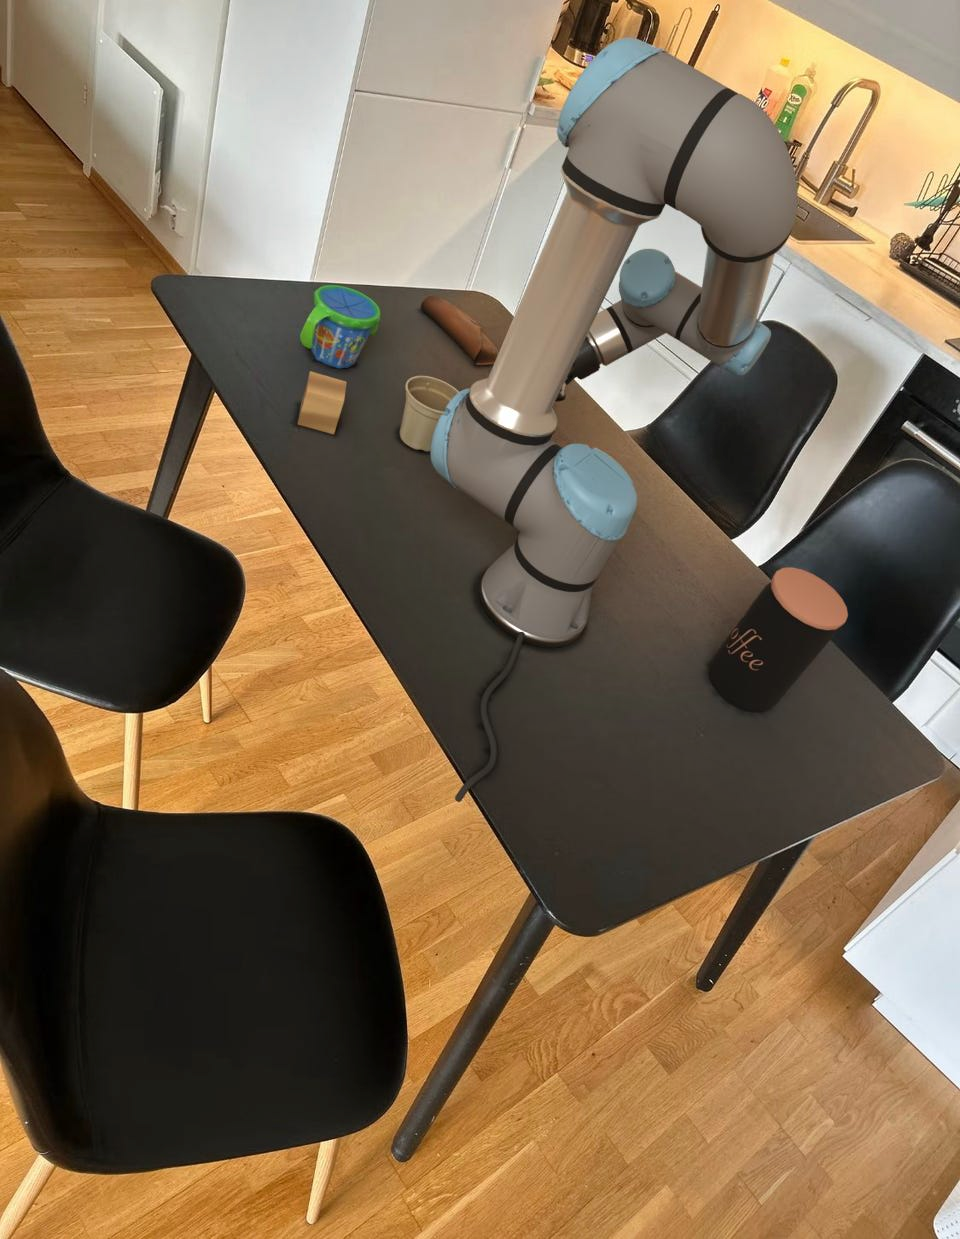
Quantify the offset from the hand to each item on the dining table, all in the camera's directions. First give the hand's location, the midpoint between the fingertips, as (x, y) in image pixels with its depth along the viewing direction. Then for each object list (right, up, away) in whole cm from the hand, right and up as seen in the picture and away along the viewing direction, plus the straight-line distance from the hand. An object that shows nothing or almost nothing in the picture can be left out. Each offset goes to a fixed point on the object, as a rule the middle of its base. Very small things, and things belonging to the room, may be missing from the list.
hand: (455, 422), depth 152 cm
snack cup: (-21, +12, +9) cm, 26 cm away
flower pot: (-6, -3, +1) cm, 7 cm away
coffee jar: (+40, -40, -15) cm, 58 cm away
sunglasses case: (0, +22, +30) cm, 37 cm away
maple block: (-21, -1, -5) cm, 21 cm away
